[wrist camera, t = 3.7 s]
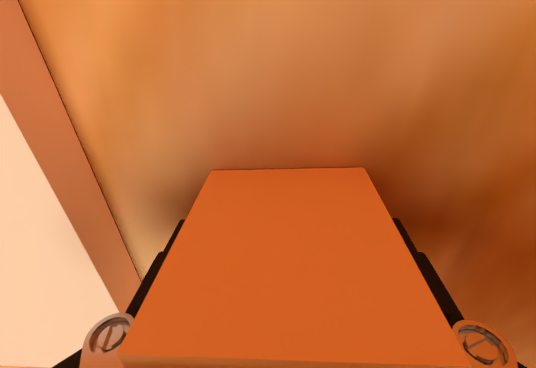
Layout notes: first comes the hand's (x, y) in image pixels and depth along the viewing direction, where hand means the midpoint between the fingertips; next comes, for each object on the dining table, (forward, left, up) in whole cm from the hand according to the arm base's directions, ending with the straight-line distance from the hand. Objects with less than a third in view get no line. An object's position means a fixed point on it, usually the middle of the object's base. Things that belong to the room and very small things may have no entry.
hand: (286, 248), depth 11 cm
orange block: (0, 0, -1) cm, 1 cm away
